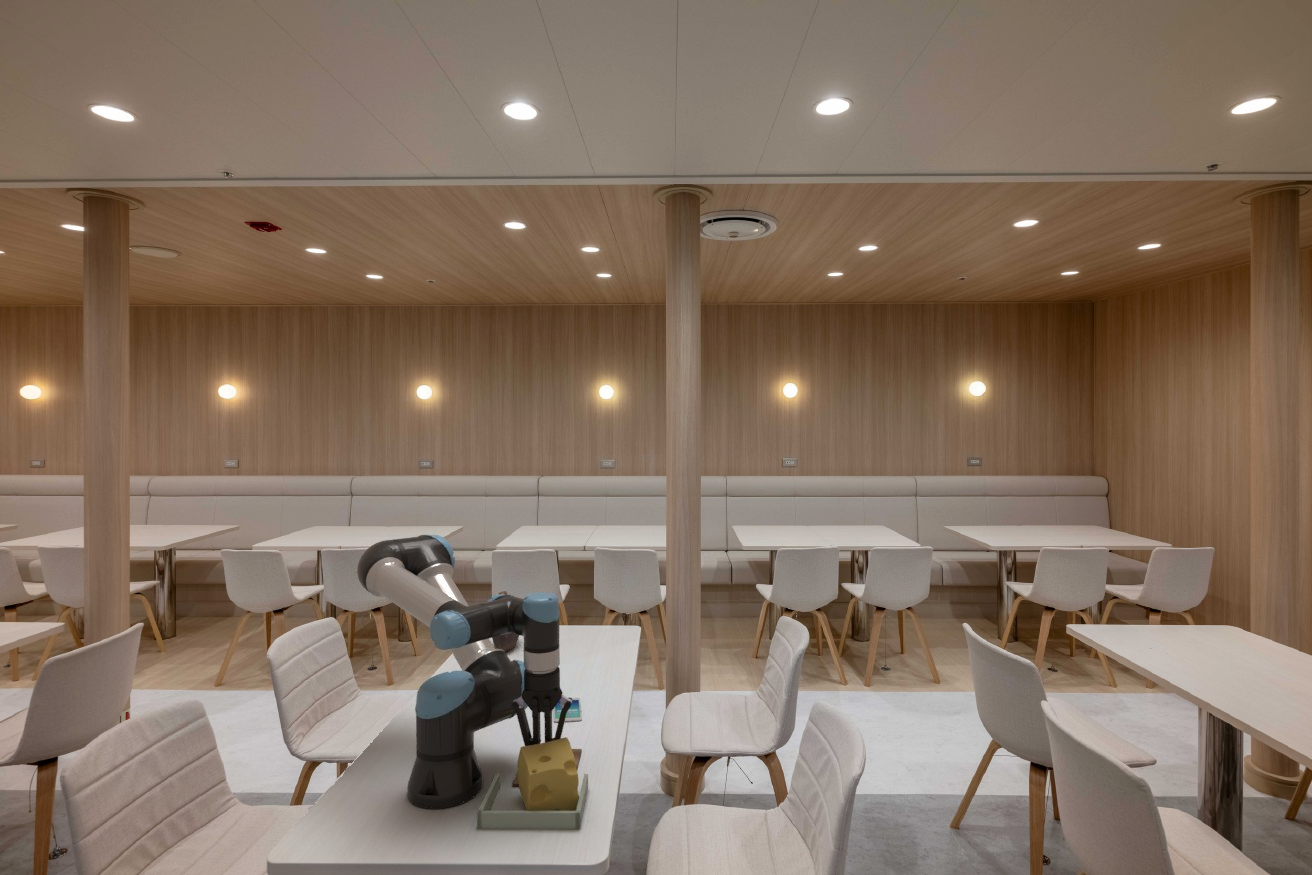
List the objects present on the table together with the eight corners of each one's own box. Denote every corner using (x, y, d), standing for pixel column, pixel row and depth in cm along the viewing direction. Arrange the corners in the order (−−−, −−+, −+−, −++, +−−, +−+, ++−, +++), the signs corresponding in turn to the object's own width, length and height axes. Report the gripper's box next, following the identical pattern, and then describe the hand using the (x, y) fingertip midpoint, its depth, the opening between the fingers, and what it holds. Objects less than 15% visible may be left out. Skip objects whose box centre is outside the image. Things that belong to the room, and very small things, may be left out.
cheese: (579, 810, 135) (580, 764, 134) (525, 822, 131) (526, 775, 130) (566, 778, 145) (568, 735, 143) (516, 788, 141) (517, 744, 139)
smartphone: (553, 721, 176) (553, 698, 191) (553, 724, 176) (553, 701, 191) (582, 719, 177) (579, 697, 192) (582, 722, 177) (579, 700, 192)
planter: (514, 638, 248) (514, 584, 248) (537, 649, 235) (536, 592, 235) (476, 646, 239) (476, 590, 239) (497, 658, 226) (497, 599, 226)
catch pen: (579, 828, 129) (579, 812, 129) (477, 828, 129) (477, 812, 129) (588, 787, 144) (588, 773, 144) (496, 787, 144) (496, 773, 144)
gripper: (574, 661, 147) (575, 768, 148) (515, 661, 147) (516, 768, 148) (570, 673, 140) (571, 786, 140) (507, 674, 140) (508, 787, 140)
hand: (543, 777), depth 144 cm, fingers closed
